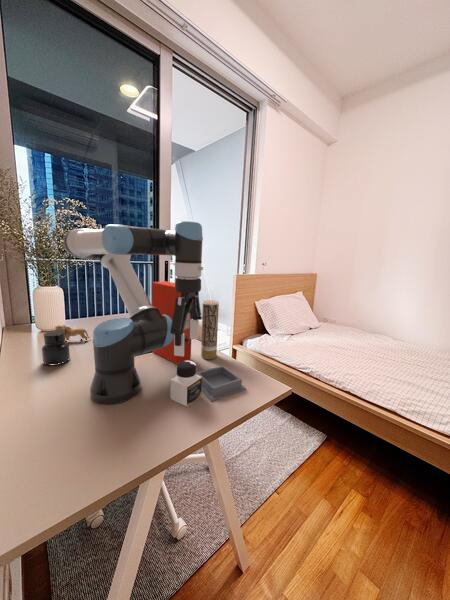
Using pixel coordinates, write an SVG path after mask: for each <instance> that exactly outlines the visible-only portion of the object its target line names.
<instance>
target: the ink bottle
mask: <svg viewBox="0 0 450 600" xmlns="http://www.w3.org/2000/svg"><path fill="white" fill-rule="evenodd" d="M43 341H44V345H43V346H42V347H41V355H42V356H41V357H42V363H43V362H44V363H46V364H58V363H62V362H65V361H67V360H68V359H69V358H70V359H71V354H70V344H69V343H67V342H65V341H66V337H65V332H64V331H62V330H55V329H53V330H50V331H46V332H45V333H43ZM70 359H69V360H70ZM69 360H68V361H69ZM68 361H67V362H68ZM44 363H43V364H44ZM65 363H66V362H65Z"/></svg>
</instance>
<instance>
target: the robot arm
mask: <svg viewBox="0 0 450 600" xmlns="http://www.w3.org/2000/svg"><path fill="white" fill-rule="evenodd" d="M203 239H204V237H203V226H202V224H201V223H200V222H196V221H183V220H182V221H181V220H180V221H177V222H176V223H175V227H174V229H160V228H152V227H139V226H133V225H132V226H131V225H124V224H118V223H117V224H107V225H105V226H104V228H99V229H98V228H97V229H93V228H75V229H72V230H71V229H70V230H69V231H67V232H66V233H65V235H64V236H63V240H62V243H63V247H64V249H65V251H66V252H67V253H68V254H69V255H71V256H72V257H75V258H78V259H82V260H93V261H95V260H96V261H97V260H99V263H101V266H102V267H104V268H106V269H107V270H108V271H109V274H110V276H111V278H112V280H113V282H114V285H115V287H116V289H117V291H118V293H119V295H120V298H121V300H122V302H123V304H124V306H125V308H126V311H127V312H128V315H129V318H128V317H119V318H118V317H115V318H110V319H107V320H105V321H102V322H100V323H99V324H97V325H96V326H95V328H94V329H93V335H92V337H93V338H92V345H93V356H94V357H93V358H94V370H95V371H94V374H93V377H92V382H91V385H90V388H89V392H90V393H89V394H90V398H91V400H92V401H93V402H95V403H98V404H102V405H103V404H104V405H113V404H119V403H123V402H125V401H128V400H130V399H132V398H134V397H135V396H137V395H138V393H139V392H140V390H141V387H142V386H141V384H142V383H141V382H142V381H141V378H140V376H139V373H138V371H137V368H136V367H135V358H136V356H140V355H143V354H147V353H149V352H152V351H153V350H156V349H161V348H162V347H165V346H167V345H169V344H170V343H171V341H172V339H173V336H174V355H175V356H184V333H183V331H184V327H185V323H186V319H187V315H188V313H190V316H191V320H190V339H191V340H199V325H200V321H202V316H201V315H202V312H201V311H202V310H201V305H200V295H199V293H200V292H201V291H202V279H201V276H202V271H203V270H204V267H203V266H202V262H203V261H202V260H203V259H202V258H203ZM133 255H135V256H136V255H137V256H139V255H144V256H147V255H149V256H152V255H153V256H174V257H175V260H174V261H175V262H174V275H175V277H176V278H175V279H174V283H175V290H176V291H178V292H180V293H181V295H180V298H179V297H176V299H175V309H174V315H173V320H171V318H170V317H169V316H167V315H161V313H160V311H159V309H158V308H156V307H152V302H151V301H150V299H149V297H148V295H147V293H146V291H145V289H144V287H143V285H142V283H141V281H140V278H139V277H138V275H137V273H136V271H135V269H134V267H133V266H132V263H131V261H130V260H131V257H132V256H133ZM177 329H178V330H177Z"/></svg>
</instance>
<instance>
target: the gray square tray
mask: <svg viewBox="0 0 450 600" xmlns="http://www.w3.org/2000/svg"><path fill="white" fill-rule="evenodd" d="M196 375H199V376H201V377H202V384H201V394H203V395H205V397H206V398H207V399H209V401H210V402H214V401H218V400H220V399H223V398H226V397H229V396H231V395H234V394H238V393H240V392H243V391H246V390H247V387H245V386H244V385H243V384H242V383H243V379H242V378H241V377H239V376H238V375H237V374H235V373H234V372H233V371H231V370H230V369H229V368H227V367H226V366H225V365H221V366H217V367H213V368H210V369H206V370H202V371H199V372H196Z"/></svg>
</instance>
